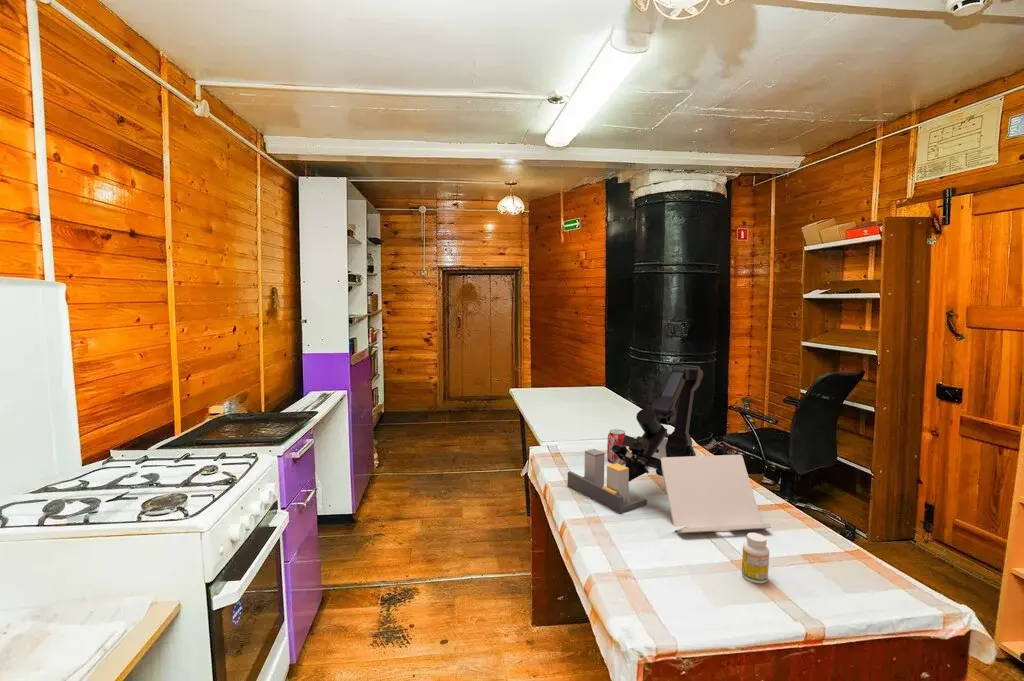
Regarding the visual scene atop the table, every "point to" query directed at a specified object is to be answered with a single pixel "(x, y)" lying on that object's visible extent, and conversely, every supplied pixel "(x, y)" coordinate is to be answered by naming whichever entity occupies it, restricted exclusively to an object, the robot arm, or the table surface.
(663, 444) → the mug
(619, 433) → the soda can
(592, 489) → the dark grey divided tray
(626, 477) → the key marked
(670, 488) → the tablet stand
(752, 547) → the supplement bottle
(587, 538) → the table surface
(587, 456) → the key plain
